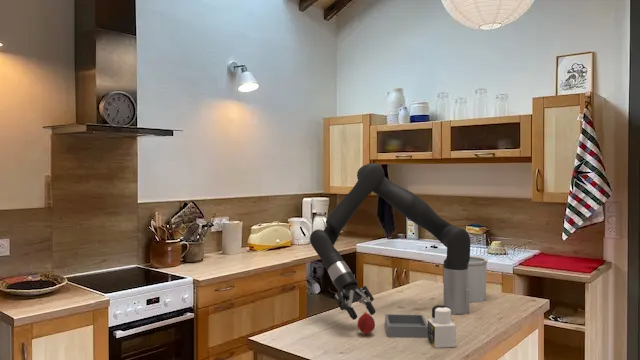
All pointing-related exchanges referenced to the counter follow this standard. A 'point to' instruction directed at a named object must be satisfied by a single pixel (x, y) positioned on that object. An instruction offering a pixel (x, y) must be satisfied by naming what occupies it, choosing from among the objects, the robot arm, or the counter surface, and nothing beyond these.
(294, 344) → the counter surface
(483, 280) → the utensil holder
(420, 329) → the slate grey tray
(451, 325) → the medicine bottle
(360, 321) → the onion
